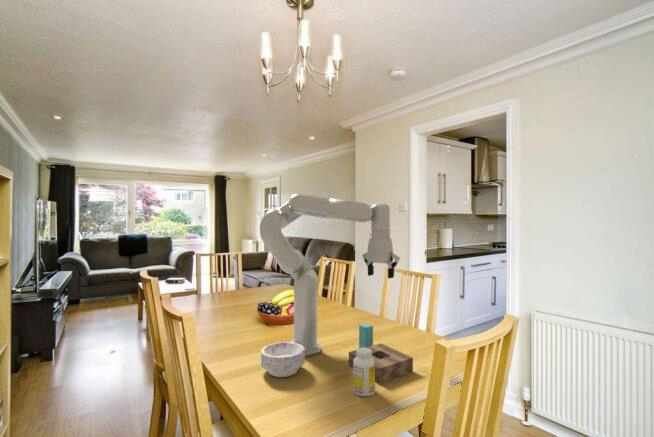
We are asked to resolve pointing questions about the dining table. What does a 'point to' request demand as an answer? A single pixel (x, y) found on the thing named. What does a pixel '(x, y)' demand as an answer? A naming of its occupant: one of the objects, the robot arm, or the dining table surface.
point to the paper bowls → (282, 358)
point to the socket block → (387, 362)
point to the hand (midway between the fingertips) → (380, 276)
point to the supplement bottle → (364, 372)
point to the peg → (365, 335)
